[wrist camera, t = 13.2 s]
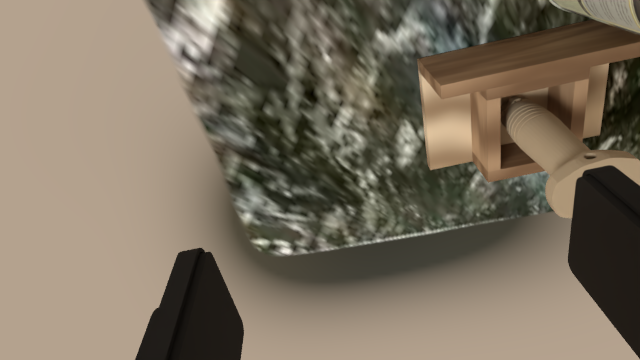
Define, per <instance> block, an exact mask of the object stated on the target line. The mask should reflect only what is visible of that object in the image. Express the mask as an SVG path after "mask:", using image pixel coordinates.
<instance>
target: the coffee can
mask: <svg viewBox="0 0 640 360" xmlns="http://www.w3.org/2000/svg"><path fill="white" fill-rule="evenodd" d="M549 1H550V2H551V3H552V4H553V5H554V6H556V7H558V8H559V9H562V10H564V11H567V12H572V13H576V14H579V15H582V16H585V17H588V18H591V19H594V20H596V21H599V22H602V23H605V24H608V25H611V26H614V27H617V28H620V29H623V30H626V31H629V32H632V33H635V34H638V35H640V0H549Z"/></svg>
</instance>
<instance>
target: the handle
mask: <svg viewBox="0 0 640 360" xmlns="http://www.w3.org/2000/svg"><path fill="white" fill-rule="evenodd" d="M501 123H502V124H503V126H504V127H505V128H506V130H507V132H508V133H509V135H510V136H511V138H512V139H513V140H514V142H515V143H516V144H517V145H518V146H519V147H520V148H521V149H522V150H523V151H524V152H525V153H526V154H527V155H528V156H529V157H531V158H532V159H533V160H534V161H535V162H536V163H537V164H539V165H540V166H541V167H542V168H543V169H544V170H545V171H546V172H547V173H548V174H549V175H550V177H549V179H548V181H547V183H546V188H545V194H546V198H547V201H548V203H549V205H550V206H551V208H552V209H553V210H554V211H555V212H556V213H557V214H558V215H559V216H560V217H562V218H572V215H573V205H574V196H575V186H576V180H577V179H578V178H579V177H582V174H583V172H584V171H585V170H588V169H593V168H598V167H603V166H608V165H613V166H614V167H616V168H617V169H619V170H620V171H621V172H623V173H624V174H625V175H626V176H628V177H629V178H630V179H632V180H633V181H634V182H635V183H637V184H638V185H639V186H640V161H639V160H638V159H637V158H635V157H634V156H633V155H631V154H630V153H628V152H625V151H617V150H590V149H589V148H588V147H587V146H586V145H585V144H584V143H582V142H581V141H580V140H579V139H578V138H577V137H576V136H575V135H574V134H573V133H572V132H571V131H570V130H569V129H568V128H567V127H566V126H565V125H564V123H563V122H562V121H561V120H560V119H558V118H557V117H556V116H555V115H554V114H552V113H551V112H550V111H548V110H547V109H545V108H544V107H542V106H540V105H538V104H536V103H534V102H533V101H532V100H530V99H527V98H525V99H520V98H519V97H517V96H513V97H511V98H509V100H508V102H507V103H506V104H505V105H503V106H501Z"/></svg>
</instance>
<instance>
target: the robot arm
mask: <svg viewBox="0 0 640 360" xmlns="http://www.w3.org/2000/svg"><path fill="white" fill-rule="evenodd" d="M568 263H569V266H570V269H571V271H572V273H573V274H574V275H575V277H576V278H577V279H578V281H579V282H580V283H581V284H582V286H583V287H584V288H585V289H586V291H587V292H588V293H589V295H590V296H591V297H592V298H593V300H594V301H595V302H596V303H597V305H598V306H599V307H600V308H601V310H602V311H603V312H604V314H605V315H606V316H607V318H608V319H609V320H610V321H611V323H612V324H613V325H614V327H615V328H616V329H617V330H618V332H619V333H620V334H621V335H622V337H623V338H624V339H625V341H626V342H627V343H628V344H629V346H630V347H631V348H632V350H633V351H634V352H635V353H636V355H637V356H638V357H639V358H640V186H639V185H638V184H637V183H635V182H634V181H633V180H632V179H630V178H629V177H628V176H626V175H625V174H624V173H623V172H621V171H620V170H619V169H617V168H616V167H614V166H613V165H608V166H603V167H598V168H593V169H588V170H585V171H584V172H583V174H582V177H579V178H578V179H577V180H576V186H575V196H574V205H573V215H572V224H571V234H570V244H569V253H568ZM243 336H244V330H243V323H242V320H241V317H240V315H239V313H238V311H237V309H236V306H235V304H234V302H233V299H232V298H231V295H230V293H229V291H228V288H227V286H226V284H225V282H224V279H223V277H222V275H221V273H220V270H219V268H218V266H217V264H216V261H215V259H214V257H213V255H212V253H211V252H205V251H204V250H203V249H202V248H197V249H192V250H187V251H182V252H180V253H178V255H177V258H176V261H175V263H174V267H173V269H172V272H171V275H170V278H169V280H168V283H167V286H166V289H165V292H164V295H163V297H162V300H161V303H160V306H159V308H157V309H156V310H155V311H154V312H153V314H152V316H151V318H150V321H149V324H148V326H147V329H146V332H145V335H144V337H143V340H142V343H141V345H140V348H139V351H138V354H137V356H136V359H135V360H240V359H241V352H242V344H243Z"/></svg>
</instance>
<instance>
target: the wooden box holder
mask: <svg viewBox="0 0 640 360" xmlns="http://www.w3.org/2000/svg"><path fill="white" fill-rule="evenodd" d="M635 57H640V35H638V34H635V33H632V32H629V31H626V30H623V29H620V28H617V27H614V26H611V25H608V24H605V23H602V22H599V21H596V20H594V19H592V20H588V21H583V22H579V23H575V24H570V25H566V26H561V27H557V28H552V29H548V30H543V31H539V32H534V33H530V34H526V35H521V36H517V37H512V38H508V39H503V40H499V41H494V42H490V43H486V44H481V45H477V46H472V47H468V48H463V49H459V50H454V51H450V52H445V53H441V54H437V55H432V56H428V57H423V58H419V59H417V61H418V71H419V82H420V92H421V102H422V112H423V122H424V132H425V142H426V152H427V162H428V166H429V168H430V170H432V169H437V168H442V167H447V166H452V165H457V164H461V163H466V162H471V161H473V162H474V163H475V165H476V166H477V168H478V169H479V170H480V172H481V173H482V174H483V176H484V177H485V178H486V180H487V181H488V182H492V181H497V180H502V179H507V178H512V177H517V176H522V175H527V174H532V173H537V172H542V171H545V170H544V169H543V168H542V167H541V166H540V165H539V164H537V163H536V162H535V161H534V160H533V159H532V158H531V157H529V156H528V155H527V154H526V153H525V152H524V151H523V150H522V149H521V148H520V147H519V146H518V145H517V144H516V143H515V142H514V140H513V139H512V138H511V136H510V135H509V133H508V132H507V130H506V128H505V127H504V126H503V124H502V123H501V106H503V105H505V104H506V103H507V102H508V100H509V98H511V97H513V96H517V97H519V98H520V99H525V98H527V99H530V100H532V101H533V102H534V103H536V104H538V105H540V106H542V107H544V108H545V109H547V110H548V111H550V112H551V113H552V114H554V115H555V116H556V117H557V118H558V119H560V120H561V121H562V122H563V123H564V125H565V126H566V127H567V128H568V129H569V130H570V131H571V132H572V133H573V134H574V135H575V136H576V137H577V138H578V139H579V140H580V141H581V142H582V140H583V138H587V137H592V136H597V135H600V130H601V123H602V115H603V107H604V100H605V92H606V84H607V77H608V69H609V63H612V62H617V61H621V60H626V59H630V58H635Z"/></svg>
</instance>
